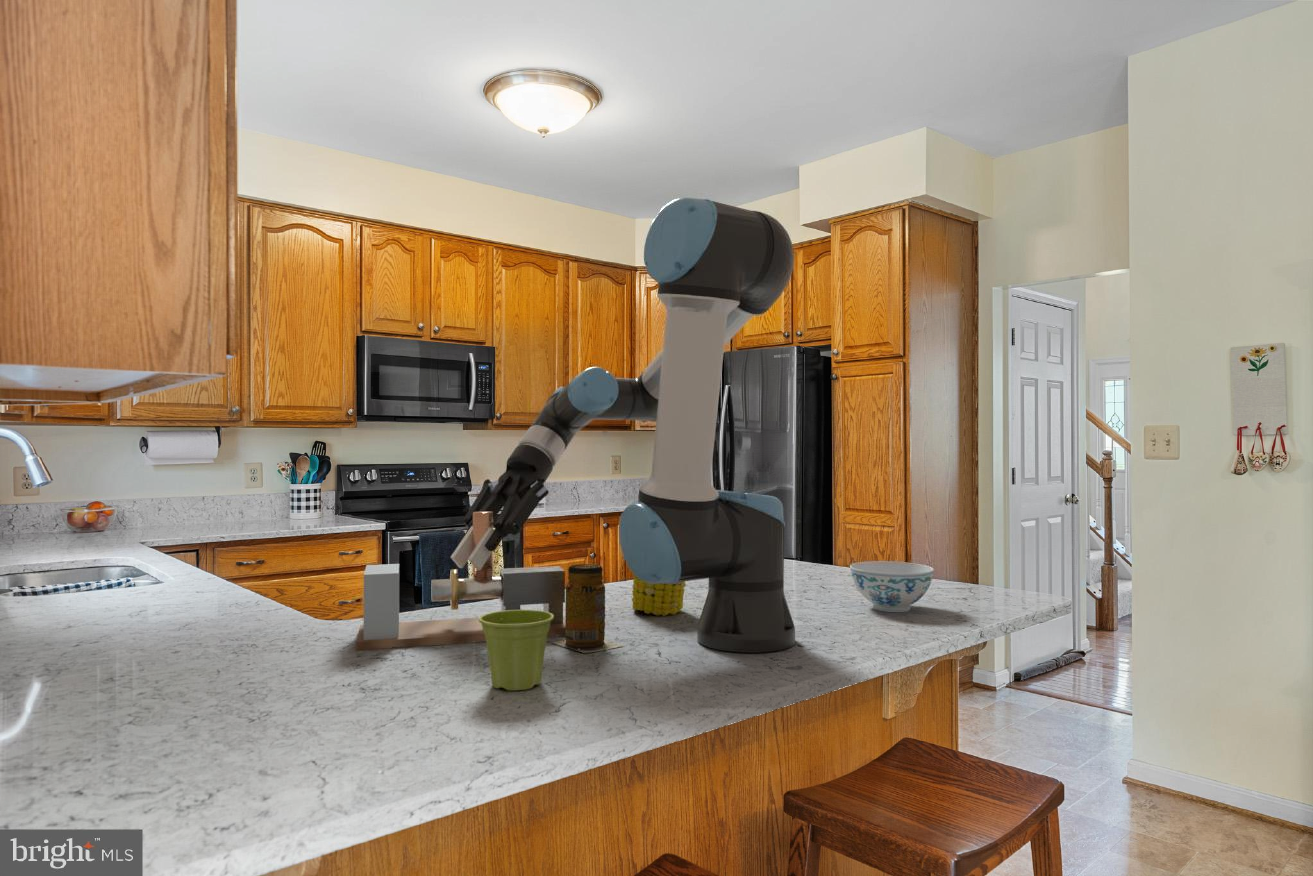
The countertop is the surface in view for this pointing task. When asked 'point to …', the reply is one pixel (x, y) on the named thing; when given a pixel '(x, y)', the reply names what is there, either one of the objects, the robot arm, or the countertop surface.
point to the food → (657, 597)
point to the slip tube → (482, 579)
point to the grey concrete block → (534, 589)
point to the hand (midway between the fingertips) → (465, 563)
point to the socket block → (381, 601)
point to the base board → (437, 633)
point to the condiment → (585, 610)
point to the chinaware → (891, 583)
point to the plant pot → (516, 646)
